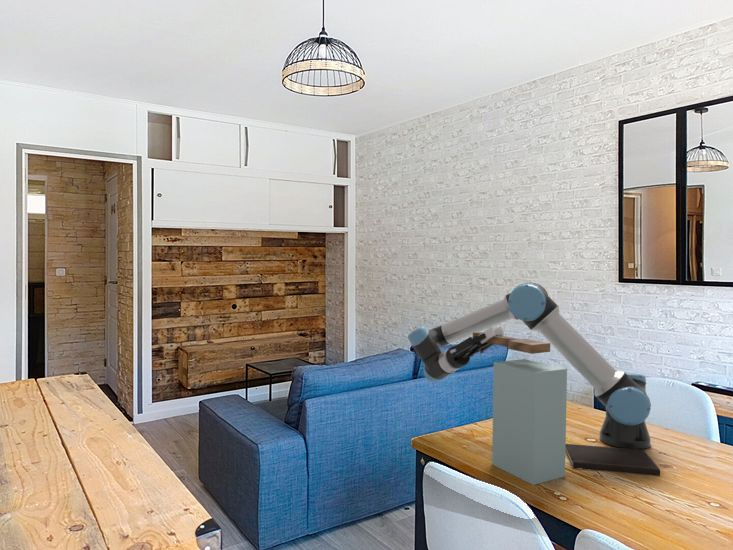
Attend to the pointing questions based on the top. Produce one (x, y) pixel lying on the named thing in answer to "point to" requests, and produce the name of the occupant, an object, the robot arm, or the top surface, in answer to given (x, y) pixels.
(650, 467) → the hardcover book
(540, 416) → the stand
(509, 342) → the brown tapered block
